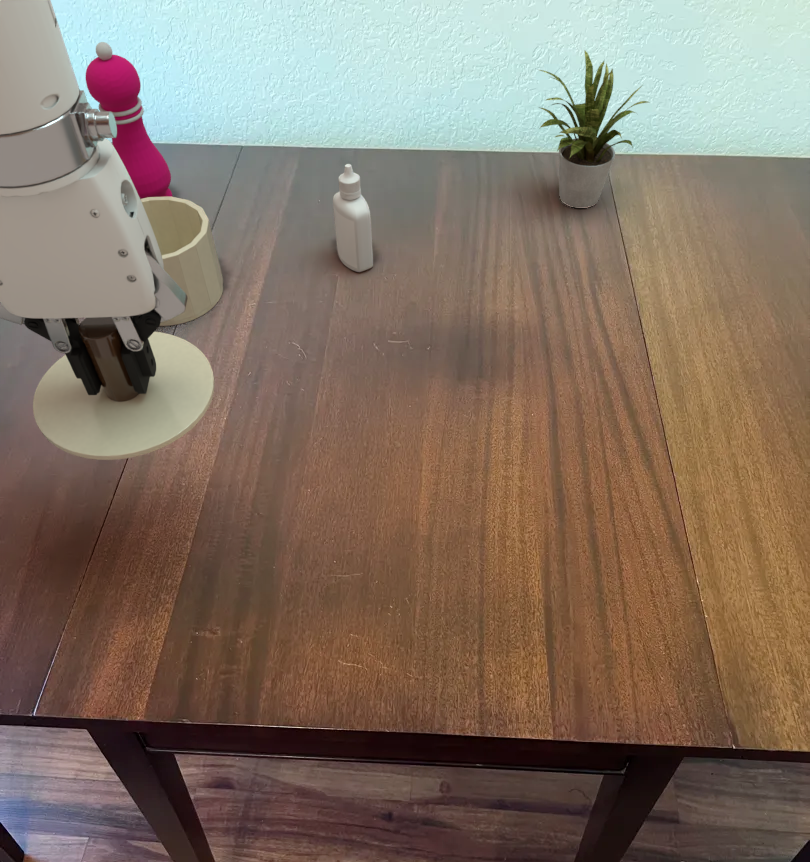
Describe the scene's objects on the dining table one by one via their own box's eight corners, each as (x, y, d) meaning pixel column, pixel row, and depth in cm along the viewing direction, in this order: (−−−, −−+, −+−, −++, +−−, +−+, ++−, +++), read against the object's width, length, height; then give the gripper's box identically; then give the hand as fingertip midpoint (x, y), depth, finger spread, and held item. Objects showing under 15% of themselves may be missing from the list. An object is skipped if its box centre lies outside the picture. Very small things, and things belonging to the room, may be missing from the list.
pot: (109, 328, 89) (83, 263, 82) (127, 262, 96) (105, 198, 90) (218, 324, 89) (201, 259, 83) (227, 259, 97) (213, 194, 90)
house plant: (507, 171, 108) (520, 40, 94) (604, 160, 109) (629, 29, 96) (536, 230, 99) (554, 96, 86) (640, 217, 101) (673, 83, 87)
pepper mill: (153, 230, 100) (101, 62, 84) (112, 214, 103) (54, 48, 86) (190, 203, 104) (147, 37, 88) (149, 188, 106) (101, 23, 90)
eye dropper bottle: (337, 274, 94) (328, 180, 85) (337, 247, 98) (328, 153, 88) (373, 273, 95) (368, 178, 85) (372, 245, 98) (367, 151, 88)
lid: (18, 468, 56) (-27, 396, 50) (59, 343, 64) (24, 268, 58) (206, 463, 56) (183, 390, 50) (224, 339, 64) (206, 264, 58)
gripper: (178, 99, 46) (234, 345, 61) (-103, 105, 45) (24, 350, 60) (159, 169, 41) (225, 414, 56) (-152, 175, 41) (-2, 421, 56)
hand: (120, 379), depth 58 cm, fingers closed on lid, 2 cm apart
